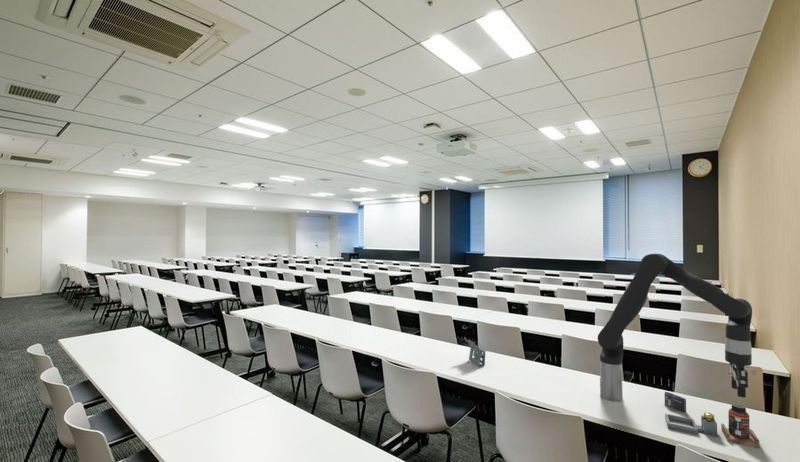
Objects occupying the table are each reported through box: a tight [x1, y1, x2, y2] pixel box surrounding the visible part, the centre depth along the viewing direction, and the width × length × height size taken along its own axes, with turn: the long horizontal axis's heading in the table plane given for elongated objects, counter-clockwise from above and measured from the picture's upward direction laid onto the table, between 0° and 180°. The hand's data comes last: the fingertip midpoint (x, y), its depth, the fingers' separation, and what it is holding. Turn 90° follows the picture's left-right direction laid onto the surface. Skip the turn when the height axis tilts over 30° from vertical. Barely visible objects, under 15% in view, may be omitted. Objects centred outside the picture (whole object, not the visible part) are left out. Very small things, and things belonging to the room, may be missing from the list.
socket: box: [664, 413, 718, 438], centre depth 146 cm, size 16×10×5 cm, turn 58°
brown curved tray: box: [720, 423, 761, 449], centre depth 138 cm, size 9×9×3 cm
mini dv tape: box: [664, 391, 687, 414], centre depth 163 cm, size 8×2×6 cm, turn 21°
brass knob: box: [703, 411, 715, 421], centre depth 143 cm, size 3×3×6 cm
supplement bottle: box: [727, 403, 751, 439], centre depth 139 cm, size 6×6×11 cm
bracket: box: [463, 336, 487, 367], centre depth 223 cm, size 13×10×15 cm
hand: (738, 392), depth 138 cm, fingers open, 8 cm apart
